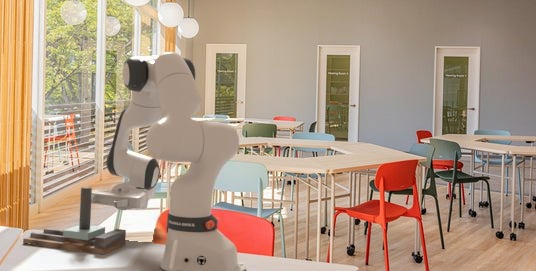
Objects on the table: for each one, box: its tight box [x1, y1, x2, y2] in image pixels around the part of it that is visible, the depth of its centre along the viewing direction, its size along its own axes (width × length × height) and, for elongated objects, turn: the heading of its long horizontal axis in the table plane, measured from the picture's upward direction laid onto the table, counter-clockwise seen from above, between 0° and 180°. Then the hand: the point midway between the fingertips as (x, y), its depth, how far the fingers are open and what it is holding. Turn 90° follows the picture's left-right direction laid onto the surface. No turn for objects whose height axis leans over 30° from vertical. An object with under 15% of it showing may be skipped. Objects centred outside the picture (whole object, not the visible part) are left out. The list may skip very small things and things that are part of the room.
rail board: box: [22, 227, 127, 255], centre depth 159 cm, size 26×12×4 cm, turn 76°
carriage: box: [63, 186, 106, 240], centre depth 158 cm, size 8×9×14 cm
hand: (102, 202), depth 167 cm, fingers open, 8 cm apart
